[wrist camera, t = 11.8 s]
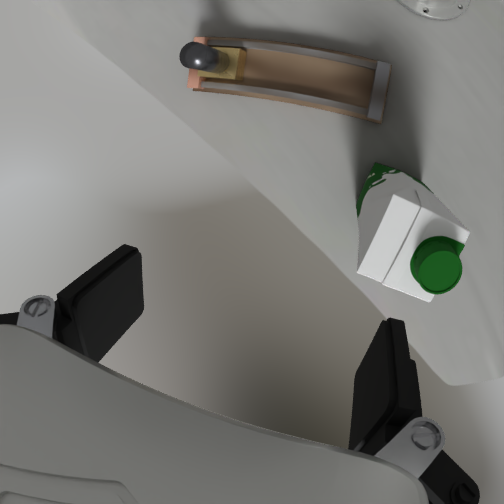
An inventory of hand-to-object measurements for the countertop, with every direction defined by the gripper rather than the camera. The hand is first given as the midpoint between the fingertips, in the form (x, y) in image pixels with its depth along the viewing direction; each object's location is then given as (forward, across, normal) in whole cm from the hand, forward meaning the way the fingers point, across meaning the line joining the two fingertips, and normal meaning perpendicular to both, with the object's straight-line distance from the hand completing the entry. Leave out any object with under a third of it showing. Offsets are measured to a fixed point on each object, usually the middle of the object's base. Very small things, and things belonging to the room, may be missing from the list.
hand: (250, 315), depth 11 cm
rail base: (+33, +6, -11) cm, 36 cm away
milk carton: (+34, -10, +2) cm, 35 cm away
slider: (+31, +14, -11) cm, 36 cm away
